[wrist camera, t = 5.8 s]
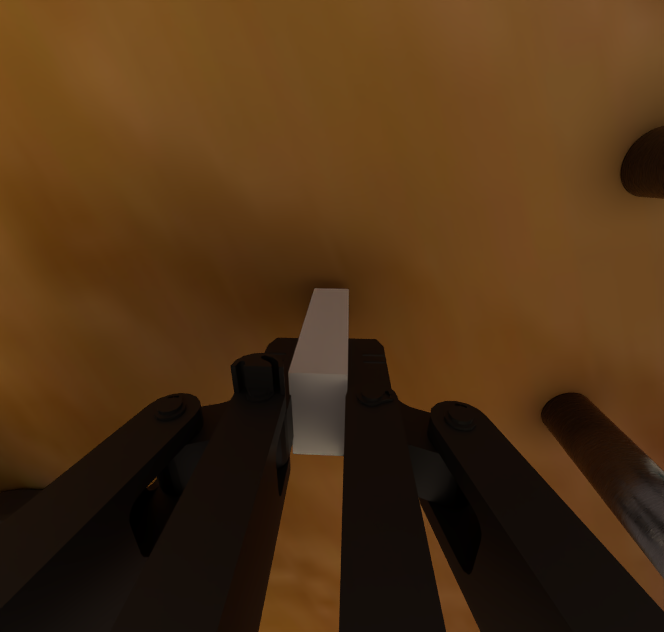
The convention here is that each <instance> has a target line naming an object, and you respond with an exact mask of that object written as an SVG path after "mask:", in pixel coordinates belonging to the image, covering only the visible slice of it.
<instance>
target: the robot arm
mask: <svg viewBox="0 0 664 632" xmlns="http://www.w3.org/2000/svg"><path fill="white" fill-rule="evenodd" d="M348 318H349V289H324V288H314V291H313V295H312V298H311V301H310V304H309V307H308V311H307V314H306V317H305V320H304V323H303V327H302V330H301V333H300V336H299V338H276V339H275V340H274V341H273V342H271V343H270V344H269V345H268V347H267V349H266V351H265V353H254V354H250V355H246V356H243V357H241V358H239V359H237V360H236V361H235V362H234V363H233V364H232V365H231V373H232V380H233V387H234V395H233V397H232V399H231V400H230V401H227V402H224V403H220V404H214V405H209V406H203V407H201V404H200V401H199V400H198V398H197V397H196V396H194V395H191V394H185V393H178V394H172V395H168V396H165V397H162V398H160V399H157V400H156V401H154V402H153V403H151V404H149V405H148V406H147V407H145V408H144V409H143V410H142V411H140V412H139V413H138V414H137V415H136V416H134V417H133V418H132V419H131V420H129V421H128V422H127V423H126V424H124V425H123V426H122V427H121V428H119V429H118V430H117V431H116V432H114V433H113V434H112V435H111V436H109V437H108V438H107V439H106V440H104V441H103V442H102V443H101V444H99V445H98V446H97V447H96V448H94V449H93V450H92V451H91V452H89V453H88V454H87V455H86V456H84V457H83V458H82V459H81V460H79V461H78V462H77V463H76V464H74V465H73V466H72V467H71V468H69V469H68V470H67V471H66V472H64V473H63V474H62V475H61V476H60V477H58V478H57V479H56V480H55V481H53V482H52V483H51V484H50V485H48V486H47V487H46V488H45V489H43V490H11V491H5V492H1V493H0V632H258V631H259V626H260V620H261V615H262V610H263V605H264V600H265V595H266V590H267V585H268V580H269V575H270V570H271V565H272V560H273V555H274V550H275V545H276V540H277V535H278V530H279V525H280V520H281V515H282V510H283V505H284V500H285V495H286V490H287V485H288V480H289V474H290V451H291V447H292V443H293V454H312V455H336V456H344V469H343V506H342V543H341V580H340V617H339V632H446V629H445V624H444V619H443V614H442V609H441V605H440V600H439V595H438V590H437V585H436V580H435V575H434V570H433V566H432V561H431V556H430V551H429V546H428V541H427V536H426V532H425V527H424V522H423V517H422V512H421V507H420V504H421V506H422V508H423V510H424V512H425V514H426V517H427V519H428V521H429V523H430V525H431V527H432V529H433V531H434V534H435V536H436V538H437V540H438V542H439V544H440V546H441V548H442V551H443V553H444V555H445V557H446V559H447V561H448V563H449V566H450V568H451V570H452V572H453V574H454V576H455V578H456V580H457V583H458V585H459V587H460V589H461V591H462V593H463V595H464V597H465V600H466V602H467V604H468V606H469V608H470V610H471V612H472V615H473V617H474V619H475V621H476V623H477V625H478V627H479V629H480V632H664V611H663V610H662V609H661V608H660V607H659V606H658V605H657V604H656V603H655V601H654V600H653V599H652V598H651V597H650V596H649V595H648V594H647V593H646V592H645V590H644V589H643V588H642V587H641V586H640V585H639V584H638V583H637V582H636V581H635V579H634V578H633V577H632V576H631V575H630V574H629V573H628V572H627V571H626V570H625V568H624V567H623V566H622V565H621V564H620V563H619V562H618V561H617V560H616V558H615V557H614V556H613V555H612V554H611V553H610V552H609V551H608V550H607V549H606V547H605V546H604V545H603V544H602V543H601V542H600V541H599V540H598V539H597V538H596V536H595V535H594V534H593V533H592V532H591V531H590V530H589V529H588V528H587V527H586V525H585V524H584V523H583V522H582V521H581V520H580V519H579V518H578V517H577V516H576V514H575V513H574V512H573V511H572V510H571V509H570V508H569V507H568V506H567V505H566V503H565V502H564V501H563V500H562V499H561V498H560V497H559V496H558V495H557V493H556V492H555V491H554V490H553V489H552V488H551V487H550V486H549V485H548V484H547V482H546V481H545V480H544V479H543V478H542V477H541V476H540V475H539V474H538V473H537V471H536V470H535V469H534V468H533V467H532V466H531V465H530V464H529V463H528V462H527V460H526V459H525V458H524V457H523V456H522V455H521V454H520V453H519V452H518V451H517V449H516V448H515V447H514V446H513V445H512V444H511V443H510V442H509V441H508V439H507V438H506V437H505V436H504V435H503V434H502V433H501V432H500V431H499V430H498V428H497V427H496V426H495V425H494V424H493V423H492V422H491V421H490V420H489V419H488V417H487V416H486V415H484V414H483V413H482V412H481V411H480V410H478V409H477V408H475V407H473V406H471V405H469V404H466V403H462V402H457V401H444V402H441V403H437V404H436V405H435V406H434V407H433V408H431V413H430V412H426V411H422V410H418V409H415V408H412V407H409V406H407V405H405V404H403V403H402V402H400V401H399V400H398V397H397V395H396V393H395V392H394V391H393V390H392V389H391V384H390V379H389V373H388V368H387V364H386V358H385V352H384V347H383V346H382V345H381V344H380V343H379V342H378V341H377V340H376V339H348ZM156 477H157V479H156V481H155V482H154V483H153V484H151V485H150V486H149V487H148V488H146V487H147V486H148V485H149V484H150V483H151V482H152V481H153V480H154V479H155V478H156ZM418 497H419V498H418ZM419 500H420V502H419Z"/></svg>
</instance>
